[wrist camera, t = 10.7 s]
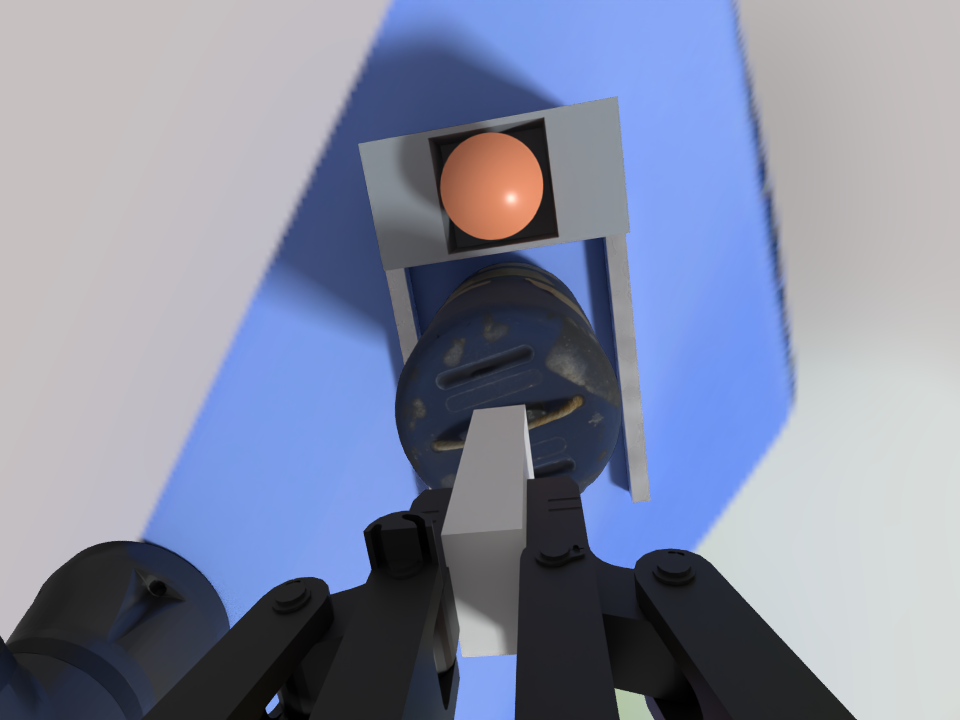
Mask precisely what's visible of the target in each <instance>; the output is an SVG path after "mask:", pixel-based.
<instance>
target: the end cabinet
mask: <svg viewBox="0 0 960 720" xmlns="http://www.w3.org/2000/svg"><path fill="white" fill-rule="evenodd" d="M490 132H491V133H502V134H506V135H509V136H512V137H514V138H516V139H517V140H519V141H520V142H522V143H523V144H524V145H525V146H527V147H528V148H529V150H530V151H531V152H532V153H533V155H534V156H535V158H536V160H537V162H538V164H539V166H540V169H541V172H542V178H543V194H542V199H541V202H540V205H539V208H538V210H537V212H536V214H535V215H534V217H533V219H532V220H531V221H530V222H529V223H528V224H527V225H526V226H525V227H524V228H523V229H522V230H520V231H519V232H517V233H515V234H514V235H512V236H509V237H506V238H502V239H496V240H486V239H480V238H477V237H474V236H472V235H469V234H467V233H466V232H464V231H463V230H461V229H460V228H459V227H458V226H457V225H456V224H455V223H454V222H453V221H452V220H451V218H450V217H449V215H448V214H447V212H446V210H445V207H444V205H443V201H442V197H441V189H440V186H441V176H442V172H443V168H444V166H445V163H446V161H447V159H448V158H449V156H450V155H451V153H452V152H453V151H454V150H455V149H456V147H457V146H458V145H460V144H461V143H462V142H464V141H465V140H467V139H469V138H470V137H473V136H475V135H478V134H482V133H490ZM358 146H359V151H360V156H361V160H362V165H363V170H364V175H365V180H366V185H367V190H368V195H369V200H370V205H371V210H372V215H373V220H374V225H375V230H376V235H377V240H378V245H379V250H380V255H381V260H382V265H383V270H384V271H388V270H394V269H400V268H407V267H413V266H420V265H426V264H433V263H439V262H446V261H452V260H458V259H465V258H471V257H478V256H484V255H491V254H497V253H503V252H510V251H516V250H523V249H529V248H536V247H542V246H548V245H555V244H561V243H568V242H574V241H581V240H587V239H593V238H600V237H606V236H613V235H619V234H626V233H630V226H629V215H628V204H627V194H626V183H625V172H624V161H623V150H622V139H621V128H620V117H619V106H618V96H617V97H612V98H606V99H601V100H595V101H590V102H584V103H579V104H573V105H568V106H562V107H557V108H551V109H546V110H540V111H535V112H529V113H524V114H518V115H513V116H507V117H502V118H496V119H491V120H485V121H480V122H475V123H469V124H464V125H458V126H453V127H447V128H442V129H436V130H431V131H425V132H420V133H414V134H409V135H403V136H398V137H392V138H387V139H381V140H376V141H370V142H365V143H359V144H358Z"/></svg>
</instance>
